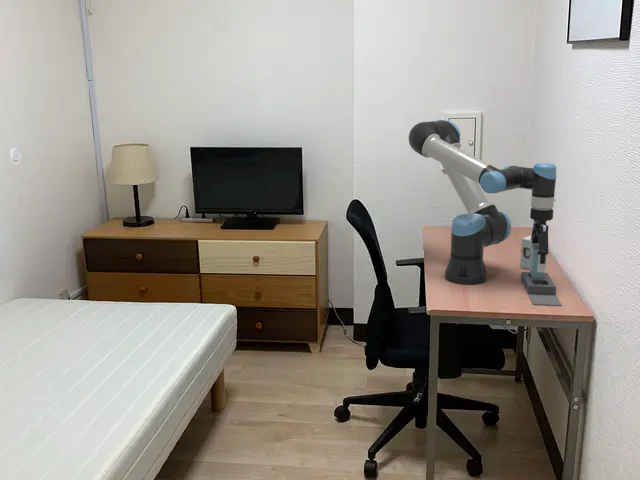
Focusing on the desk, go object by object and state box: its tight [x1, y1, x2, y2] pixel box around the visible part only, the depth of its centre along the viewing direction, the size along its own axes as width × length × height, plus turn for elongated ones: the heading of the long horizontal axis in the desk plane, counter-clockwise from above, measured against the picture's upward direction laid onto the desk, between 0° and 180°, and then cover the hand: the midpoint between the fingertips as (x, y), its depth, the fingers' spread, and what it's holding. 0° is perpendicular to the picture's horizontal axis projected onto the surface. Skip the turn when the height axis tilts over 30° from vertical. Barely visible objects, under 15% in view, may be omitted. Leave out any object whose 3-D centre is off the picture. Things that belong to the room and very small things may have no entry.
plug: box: [529, 245, 545, 279], centre depth 226 cm, size 4×4×14 cm
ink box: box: [519, 234, 539, 270], centre depth 248 cm, size 9×5×12 cm, turn 137°
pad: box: [528, 294, 563, 307], centre depth 211 cm, size 9×9×1 cm
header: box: [520, 271, 557, 296], centre depth 225 cm, size 16×9×3 cm, turn 171°
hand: (537, 266), depth 227 cm, fingers open, 13 cm apart
